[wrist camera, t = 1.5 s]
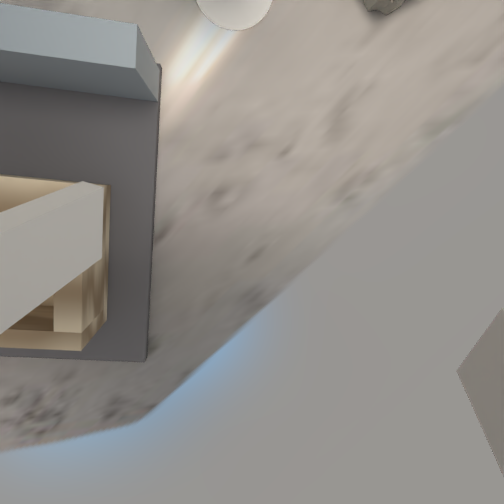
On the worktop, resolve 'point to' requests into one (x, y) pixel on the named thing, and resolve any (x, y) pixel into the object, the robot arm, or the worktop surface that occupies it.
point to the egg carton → (383, 5)
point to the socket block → (68, 297)
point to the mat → (99, 172)
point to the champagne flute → (234, 12)
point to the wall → (75, 53)
